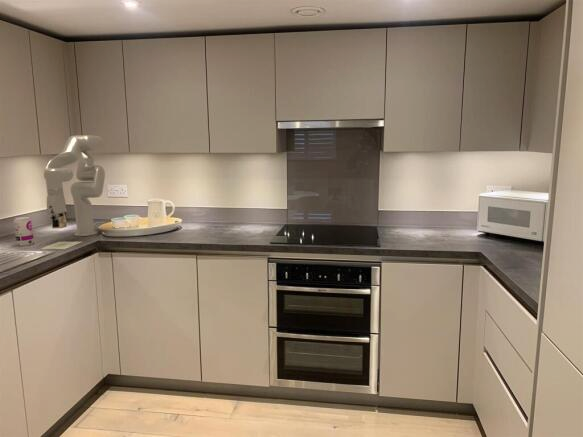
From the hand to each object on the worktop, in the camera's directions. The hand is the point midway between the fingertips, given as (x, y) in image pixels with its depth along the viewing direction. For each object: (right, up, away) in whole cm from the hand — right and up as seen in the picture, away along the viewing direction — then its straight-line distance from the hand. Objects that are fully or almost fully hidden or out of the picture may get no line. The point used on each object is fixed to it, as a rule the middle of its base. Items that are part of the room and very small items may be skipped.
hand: (59, 225), depth 240 cm
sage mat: (0, -11, +2) cm, 11 cm away
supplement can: (-22, -11, +7) cm, 26 cm away
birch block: (0, -1, 0) cm, 1 cm away
